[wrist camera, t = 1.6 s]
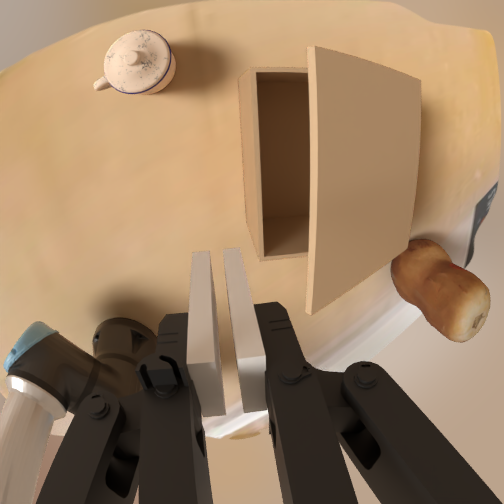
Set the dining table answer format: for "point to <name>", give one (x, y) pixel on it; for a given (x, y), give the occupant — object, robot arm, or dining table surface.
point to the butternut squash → (441, 290)
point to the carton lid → (358, 170)
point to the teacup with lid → (138, 64)
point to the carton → (276, 159)
